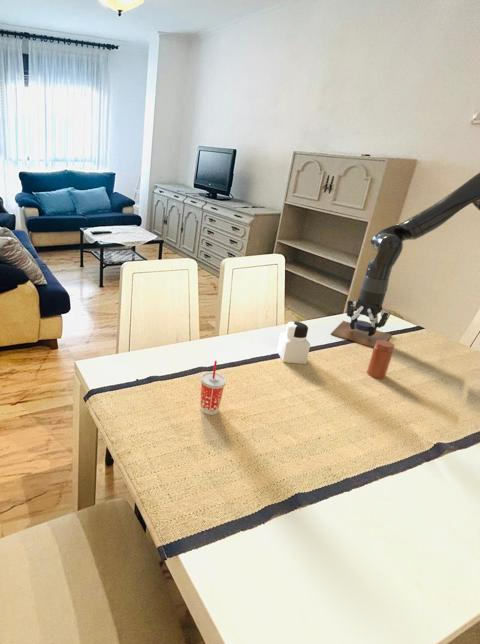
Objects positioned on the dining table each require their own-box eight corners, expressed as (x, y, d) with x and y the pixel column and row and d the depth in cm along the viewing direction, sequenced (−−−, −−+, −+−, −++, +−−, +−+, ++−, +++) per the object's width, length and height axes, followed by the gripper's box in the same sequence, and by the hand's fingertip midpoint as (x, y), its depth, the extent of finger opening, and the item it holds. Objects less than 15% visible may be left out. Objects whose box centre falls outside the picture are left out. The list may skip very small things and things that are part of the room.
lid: (350, 326, 141) (351, 321, 140) (358, 323, 144) (360, 319, 143) (366, 332, 136) (367, 328, 136) (374, 329, 139) (375, 325, 139)
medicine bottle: (298, 353, 127) (305, 320, 123) (306, 364, 120) (314, 330, 116) (276, 351, 127) (282, 318, 123) (282, 362, 121) (289, 328, 117)
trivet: (390, 335, 142) (390, 334, 141) (381, 350, 131) (381, 349, 130) (342, 322, 152) (343, 320, 152) (330, 334, 141) (330, 333, 140)
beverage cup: (221, 404, 100) (228, 357, 95) (221, 419, 94) (228, 369, 90) (198, 399, 101) (203, 352, 97) (196, 413, 96) (202, 365, 91)
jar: (385, 373, 117) (395, 342, 113) (385, 380, 113) (395, 349, 109) (366, 368, 119) (375, 338, 116) (366, 375, 115) (375, 344, 112)
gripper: (347, 284, 139) (336, 326, 144) (390, 297, 127) (377, 342, 133) (358, 281, 142) (347, 322, 148) (401, 293, 131) (387, 338, 137)
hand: (361, 331), depth 141 cm, fingers closed on lid, 5 cm apart
